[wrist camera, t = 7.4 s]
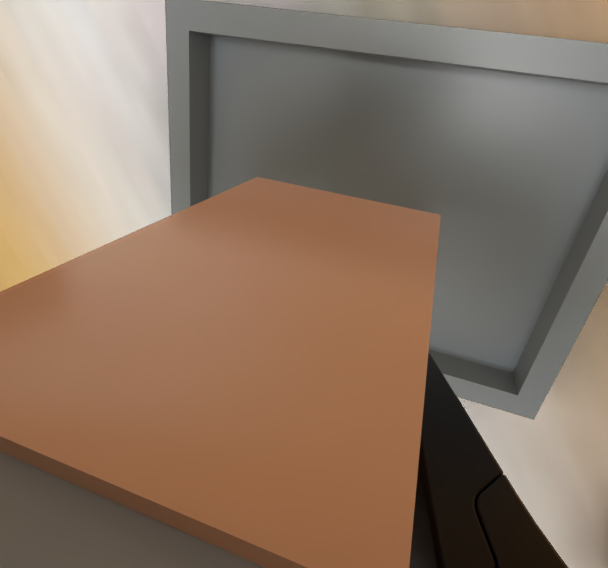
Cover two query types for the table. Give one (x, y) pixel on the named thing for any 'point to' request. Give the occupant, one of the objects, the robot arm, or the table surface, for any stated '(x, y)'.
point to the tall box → (222, 389)
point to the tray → (418, 161)
